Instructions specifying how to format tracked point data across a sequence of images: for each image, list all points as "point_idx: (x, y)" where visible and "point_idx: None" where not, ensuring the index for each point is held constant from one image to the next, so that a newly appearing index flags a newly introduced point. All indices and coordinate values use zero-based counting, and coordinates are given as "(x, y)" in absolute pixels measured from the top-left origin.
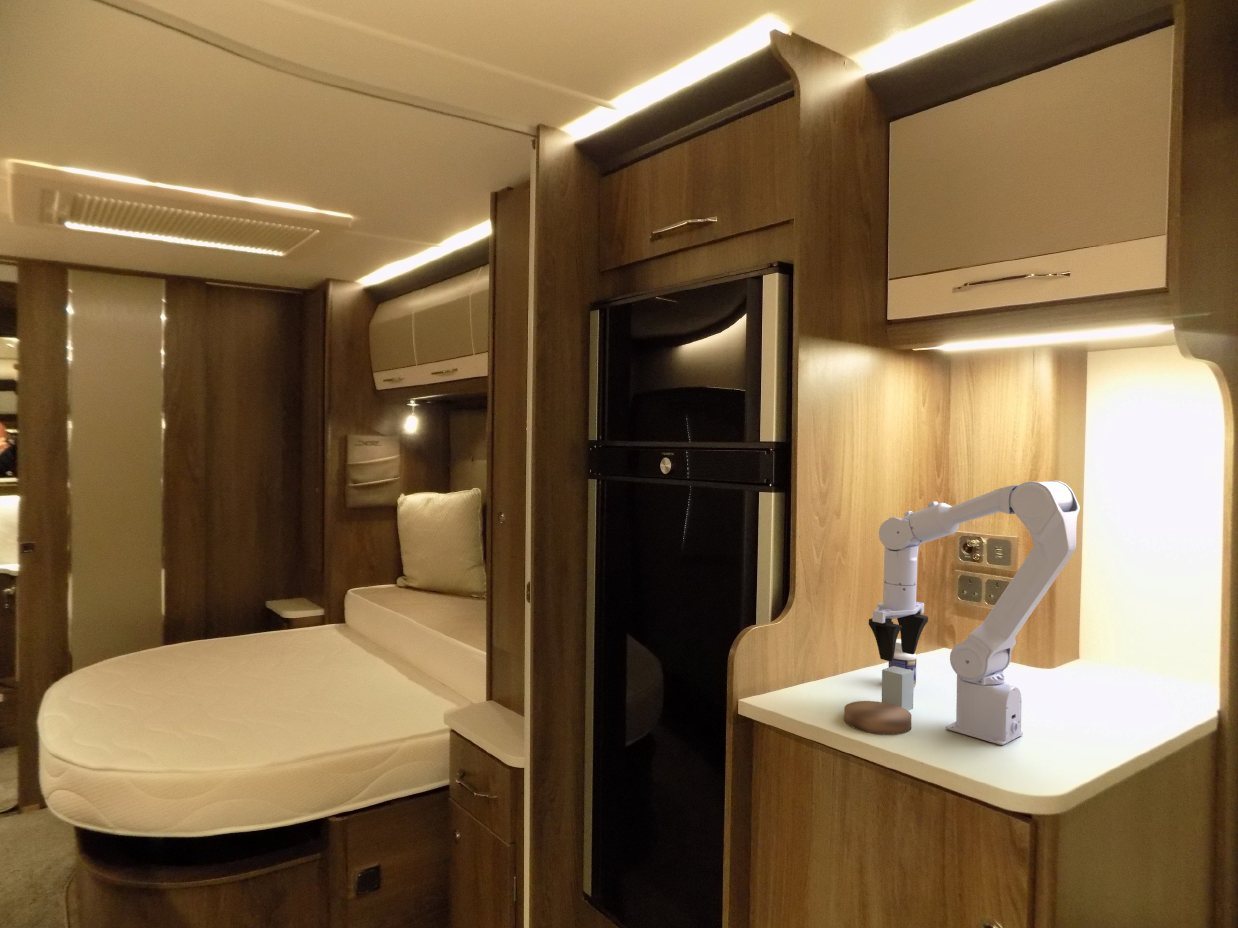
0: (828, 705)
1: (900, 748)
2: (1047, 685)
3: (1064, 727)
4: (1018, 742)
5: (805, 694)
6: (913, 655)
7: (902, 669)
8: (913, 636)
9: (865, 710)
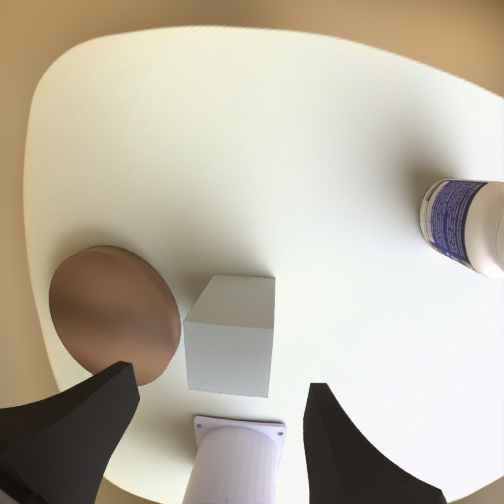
0: (120, 172)
1: (69, 379)
2: None
3: None
4: None
5: (152, 78)
6: (496, 277)
7: (252, 368)
8: (312, 481)
9: (86, 304)
